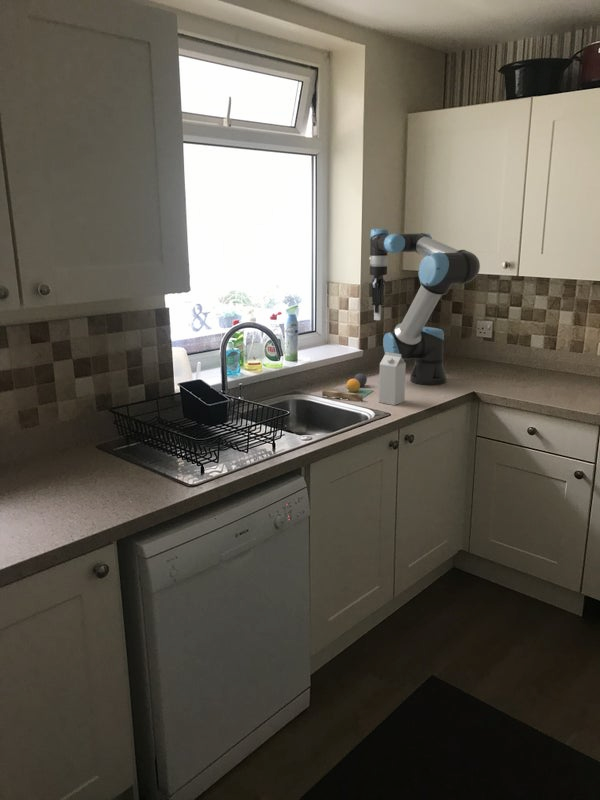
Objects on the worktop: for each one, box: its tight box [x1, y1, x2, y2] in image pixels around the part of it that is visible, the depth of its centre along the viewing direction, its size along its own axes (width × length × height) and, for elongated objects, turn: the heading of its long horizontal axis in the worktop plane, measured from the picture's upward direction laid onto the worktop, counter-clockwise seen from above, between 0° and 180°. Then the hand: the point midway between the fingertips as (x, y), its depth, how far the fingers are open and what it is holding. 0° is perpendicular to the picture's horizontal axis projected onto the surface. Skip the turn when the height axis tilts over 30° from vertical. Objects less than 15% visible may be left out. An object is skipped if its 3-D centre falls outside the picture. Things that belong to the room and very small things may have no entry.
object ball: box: [345, 378, 361, 392], centre depth 264 cm, size 6×6×6 cm
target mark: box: [348, 388, 374, 399], centre depth 263 cm, size 14×14×1 cm
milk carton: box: [378, 351, 407, 406], centre depth 247 cm, size 7×7×19 cm
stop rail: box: [321, 389, 364, 402], centre depth 255 cm, size 16×2×2 cm, turn 65°
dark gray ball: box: [353, 372, 368, 388], centre depth 273 cm, size 6×6×6 cm
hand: (377, 319), depth 290 cm, fingers closed
